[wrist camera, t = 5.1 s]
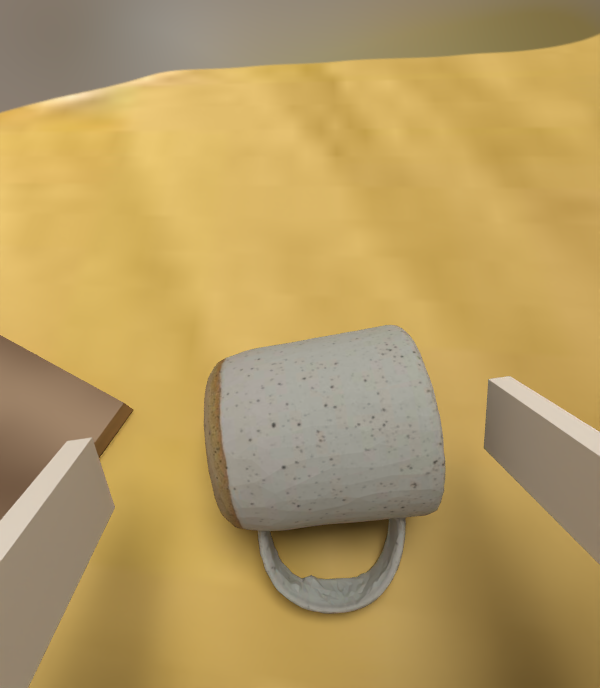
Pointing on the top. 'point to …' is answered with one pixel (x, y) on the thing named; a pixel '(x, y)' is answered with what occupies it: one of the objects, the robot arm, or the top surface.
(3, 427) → the board
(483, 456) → the top surface
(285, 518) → the ceramic mug
